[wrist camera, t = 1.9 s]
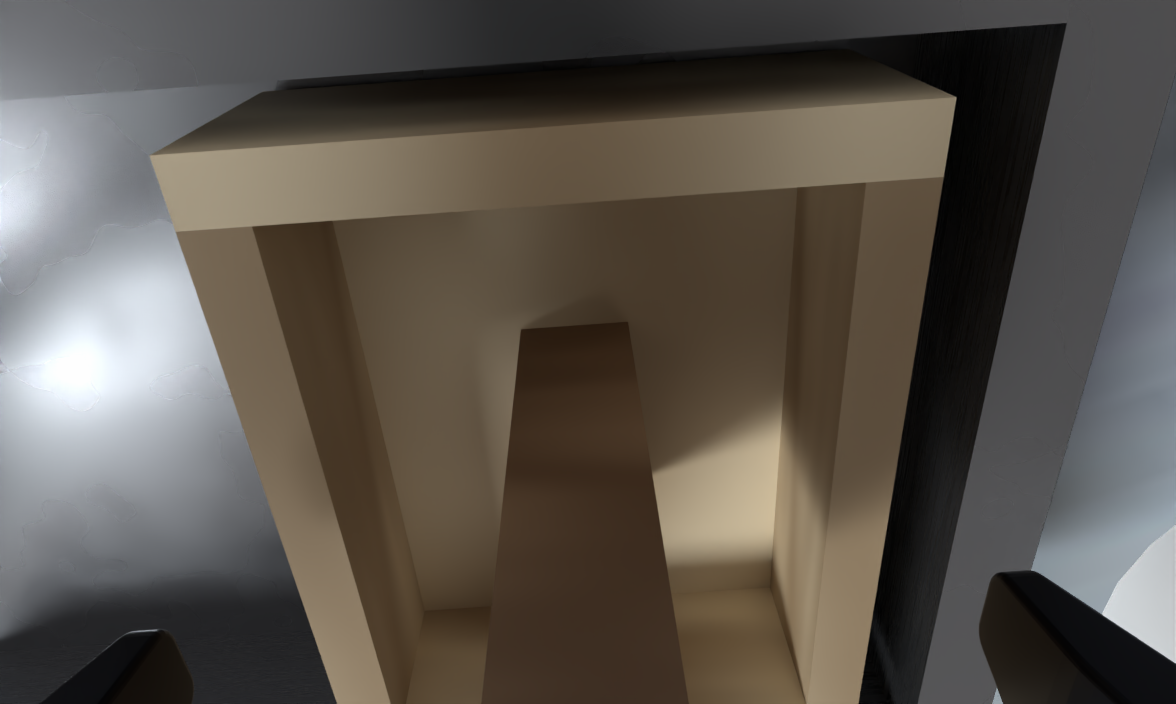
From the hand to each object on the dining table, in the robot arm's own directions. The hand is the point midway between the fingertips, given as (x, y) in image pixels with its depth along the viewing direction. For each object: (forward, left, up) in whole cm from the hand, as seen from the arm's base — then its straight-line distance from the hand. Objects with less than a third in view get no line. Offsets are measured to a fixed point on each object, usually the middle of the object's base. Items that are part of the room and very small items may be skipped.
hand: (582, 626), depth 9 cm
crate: (0, 0, -5) cm, 5 cm away
